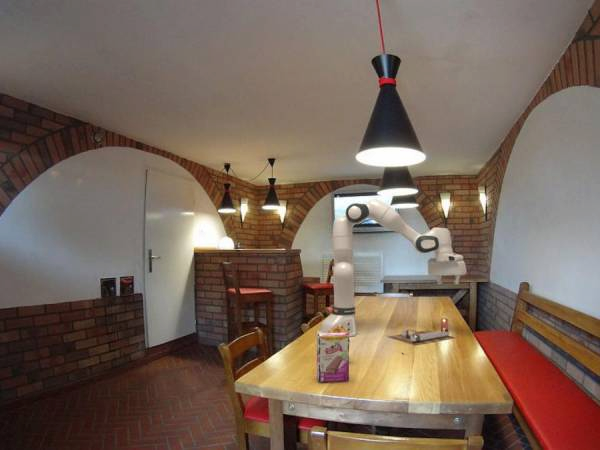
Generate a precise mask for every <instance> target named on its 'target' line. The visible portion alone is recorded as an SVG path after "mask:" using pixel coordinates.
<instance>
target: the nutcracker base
mask: <svg viewBox="0 0 600 450" xmlns="http://www.w3.org/2000/svg"><path fill="white" fill-rule="evenodd" d="M408 330H410V329H408V328H404V329H402V330H401V334H395V335H388V336H387V338H390V339H393V340H395V341H399V342H402V343H405V344H408V345H411V346H414V347H415V346H421V345H426V344H431V343H437V342H443V341H447V340H453V339H457V337H454V336H452V335H447V336H442V337H436V338H430V339H425V340H420V342H414V341H411V340H410V339H408ZM431 332H434V331H432V330H429V329H426V330H420V331H417V335H420V334H425V333H431Z"/></svg>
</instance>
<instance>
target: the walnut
mask: <svg viewBox="0 0 600 450" xmlns="http://www.w3.org/2000/svg"><path fill="white" fill-rule="evenodd" d="M417 332H418V331H417V330H415V329H409V330H408V339H410V340H411V337H410V336H412V335H413V334H417Z"/></svg>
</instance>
